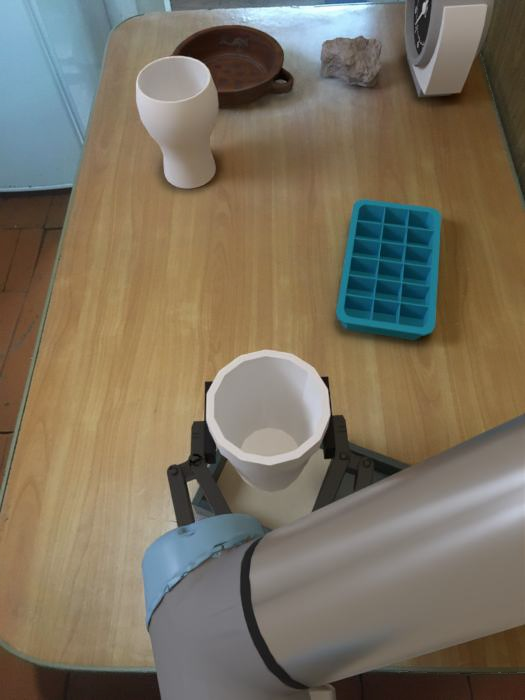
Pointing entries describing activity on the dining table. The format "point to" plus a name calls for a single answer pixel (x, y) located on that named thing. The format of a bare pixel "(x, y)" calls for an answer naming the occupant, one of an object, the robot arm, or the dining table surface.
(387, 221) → the ice cube tray
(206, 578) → the robot arm
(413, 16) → the alarm clock
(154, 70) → the cup
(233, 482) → the divided tray
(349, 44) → the stone
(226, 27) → the dish
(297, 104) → the dining table surface
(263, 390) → the foam cup
